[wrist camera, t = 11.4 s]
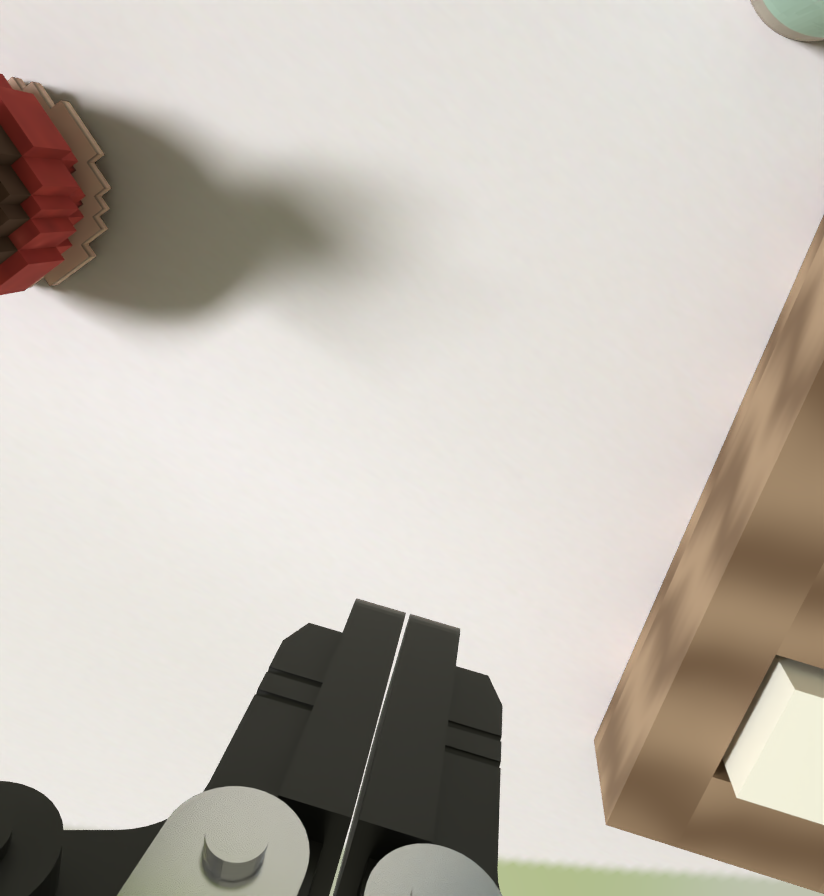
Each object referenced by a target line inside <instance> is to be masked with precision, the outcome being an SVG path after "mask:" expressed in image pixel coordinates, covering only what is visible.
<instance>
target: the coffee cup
mask: <svg viewBox="0 0 824 896" xmlns="http://www.w3.org/2000/svg"><path fill="white" fill-rule="evenodd" d="M751 3H752V5H753V7H754V9H755V11H756V13H757V14H758V16H759V17H760V18H761V20H762V21H763V22H764V23H765V24H766V25H767V26H768V27H770V28H771V29H772V30H773V31H775V32H777V33H778V34H780V35H782V36H785V37H787V38H790V39H794V40H799V41H821V40H824V0H751Z"/></svg>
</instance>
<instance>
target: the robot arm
mask: <svg viewBox="0 0 824 896" xmlns="http://www.w3.org/2000/svg"><path fill="white" fill-rule="evenodd" d="M405 614H406V613H404V612H401V611H398V610H394V609H391V608H387V607H384V606H381V605H377V604H374V603H370V602H367V601H364V600H360V599H356V600H355V603H354V605H353V608H352V610H351V613H350V615H349V618H348V620H347V623H346V625H345V628H344V630H343V633H342V632H338V631H335V630H331V629H328V628H325V627H321V626H318V625H315V624H311V623H308V624H307V625H305V626H304V627H302V628H301V629H299V630H298V631H296V632H295V633H293V634H292V635H290V636H289V637H287V638H286V639H285V640H283V641H282V643H281V645H280V647H279V649H278V651H277V653H276V655H275V657H274V659H273V661H272V663H271V665H270V666H269V670H268V672H266V674H265V676H264V678H263V680H262V682H261V684H260V686H259V688H258V690H257V693H256V695H254V697H253V699H252V701H251V703H250V705H249V707H248V709H247V711H246V713H245V715H244V716H243V718H242V720H241V722H240V724H239V726H238V728H237V730H236V732H235V734H234V736H233V738H232V740H231V742H230V743H229V745H228V747H227V749H226V751H225V753H224V755H223V757H222V759H221V761H220V763H219V765H218V767H217V768H216V770H215V772H214V774H213V776H212V778H211V780H210V782H209V783H208V785H207V787H206V788H205V790H204V791H203V792H202V793H200V794H198V795H195V796H193V797H192V798H190V799H189V800H187V801H186V802H184V803H183V804H182V805H180V806H179V807H178V808H177V809H176V810H175V811H174V812H173V813H172V814H171V816H170V817H169V818H168V819H166V820H164V821H162V822H159V823H156V824H153V825H149V826H146V827H141V828H135V829H126V830H63V823H62V819H61V817H60V814H59V811H58V810H57V808H56V807H55V805H54V804H53V803H52V802H51V801H50V800H49V799H48V798H47V797H46V796H45V795H44V794H42V793H40V792H39V791H37V790H35V789H34V788H31V787H28V786H25V785H23V784H18V783H13V782H6V781H0V896H329V894H330V890H331V887H332V883H333V880H334V877H335V873H336V870H337V866H338V863H339V859H340V856H341V853H342V849H343V846H344V842H345V839H346V836H347V832H348V829H349V825H350V822H351V819H352V815H353V811H354V807H355V803H356V800H357V796H358V792H359V788H360V785H361V781H362V777H363V773H364V769H365V766H366V762H367V758H368V754H369V751H370V747H371V743H372V739H373V735H374V732H375V728H376V724H377V720H378V716H379V713H380V709H381V705H382V701H383V698H384V694H385V690H386V686H387V682H388V679H389V675H390V671H391V667H392V663H393V660H394V656H395V652H396V648H397V645H398V641H399V637H400V633H401V629H402V626H403V622H404V618H405ZM459 637H460V629H459V628H456V627H453V626H449V625H446V624H442V623H439V622H436V621H432V620H429V619H425V618H422V617H419V616H415V615H412V614H410V616H409V619H408V623H407V626H406V629H405V633H404V636H403V640H402V643H401V647H400V650H399V653H398V657H397V660H396V664H395V667H394V671H393V674H392V677H391V681H390V684H389V688H388V691H387V694H386V698H385V701H384V705H383V708H382V712H381V715H380V719H379V723H378V726H377V730H376V733H375V737H374V741H373V745H372V748H371V752H370V756H369V760H368V764H367V767H366V771H365V775H364V779H363V783H362V787H361V790H360V794H359V798H358V802H357V806H356V809H355V813H354V817H353V821H352V825H351V829H350V832H349V836H348V840H347V844H346V848H345V851H344V855H343V859H342V863H341V867H340V871H339V874H338V878H337V882H336V886H335V890H334V893H333V896H502V894H501V892H500V889H499V884H498V873H497V866H498V833H499V800H500V768H499V766H500V762H501V742H500V740H501V735H502V704H501V702H500V700H499V698H498V695H497V693H496V691H495V689H494V687H493V685H492V683H491V681H490V678H489V676H487V675H484V674H481V673H477V672H474V671H470V670H467V669H464V668H460V667H457V666H456V660H457V652H458V644H459Z"/></svg>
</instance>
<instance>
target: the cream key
mask: <svg viewBox="0 0 824 896" xmlns="http://www.w3.org/2000/svg"><path fill="white" fill-rule="evenodd" d="M722 759H723V762H724V765H725V767H726V770H727V773H728V776H729V778H730V781H731V784H732V787H733V789H734V792H735V795H736V797H737V798H739V799H742V800H745V801H749V802H752V803H755V804H758V805H761V806H765V807H768V808H771V809H774V810H777V811H781V812H784V813H787V814H790V815H793V816H797V817H800V818H803V819H806V820H809V821H813V822H816V823H819V824H822V825H824V669H822V668H819V667H815V666H812V665H809V664H805V663H802V662H799V661H796V660H792V659H789V658H786V657H782V656H779V655H775V657H774V659H773V661H772V663H771V665H770V667H769V669H768V671H767V673H766V675H765V677H764V679H763V681H762V682H761V684H760V686H759V688H758V690H757V692H756V694H755V696H754V698H753V700H752V702H751V704H750V706H749V707H748V709H747V711H746V713H745V715H744V717H743V719H742V721H741V723H740V725H739V727H738V729H737V731H736V732H735V734H734V736H733V738H732V740H731V742H730V744H729V746H728V748H727V750H726V752H725V754H724V756H723V757H722Z"/></svg>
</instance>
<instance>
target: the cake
mask: <svg viewBox="0 0 824 896" xmlns="http://www.w3.org/2000/svg"><path fill="white" fill-rule="evenodd" d="M102 156H104V153H103V152H102V150H101V149H100V147H99V146H98V144H97V143H96V141H95V140H94V138H93V137H92V135H91V134H90V132H89V131H88V129H87V128H86V126H85V125H84V123H83V122H82V120H81V119H80V117H79V116H78V114H77V113H76V111H75V110H74V108H73V107H72V105H71V104H70V102H67V101H63V100H60V101H59V102H58V103H57V104H56V105H55V104H54V102H53V101H52V99H51V98H50V96H49V95H48V94H47V92H46V91H45V89H44V88H43V86H42V85H41V84H40V83H36V82H31V83H30V84H28V85H27V86H26V85H25V83H24V82H23V80H22V79H19V78H15V77H11V78H10V79H9V80H8V81H7V80H6V79H5V77H4V76H3V74H0V295H3V294H9V293H14V292H20V291H25V290H26V289H27V288H29V287H32V286H33V285H35V284H36V283H37V282H39V281H40V280H41V279H43V278H45V280H46V281H47V283H48V284H49V285H50V286H54V285H58V284H60V283H61V282H62V281H64V280H65V279H66V278H68V277H69V276H71V275H72V274H73V273H75V272H76V271H77V270H79V269H80V268H81V267H83V266H84V265H85V264H87V263H88V262H89V261H91V260H92V259H93V258H95V257H96V254H95V253H94V251H93V250H92V249H91V247H90V246H89V243H90V242H92V241H93V240H94V239H95V238H97V237H98V236H99V235H101V234H102V233H103V232H105V231H106V230H107V229H108V228H107V226H106V225H105V223H104V222H103V221H102V219H101V218H100V216H101V215H102V214H104V213H105V212H106V211H108V210H109V209H110V208H109V207H108V205H107V204H106V202H105V201H104V199H103V198H102V197H101V196H102V195H104V194H105V193H106V192H108V191H109V190H110V189H111V187H110V185H109V184H108V182H107V181H106V179H105V178H104V176H103V175H102V174H101V172H100V171H99V169H98V168H97V166H96V165H95V162H96V161H97V160H99V159H100V158H101V157H102Z"/></svg>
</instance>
